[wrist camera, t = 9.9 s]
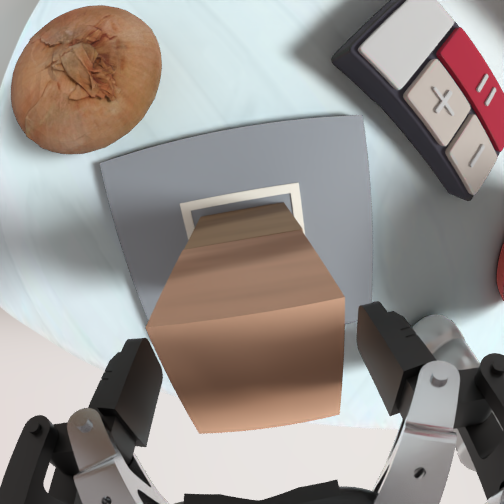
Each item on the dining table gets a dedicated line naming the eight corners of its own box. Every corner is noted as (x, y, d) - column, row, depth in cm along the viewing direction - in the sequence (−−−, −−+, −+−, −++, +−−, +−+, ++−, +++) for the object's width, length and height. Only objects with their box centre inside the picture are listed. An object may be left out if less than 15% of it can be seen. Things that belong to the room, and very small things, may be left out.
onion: (171, 82, 19) (222, 47, 11) (93, 175, 19) (85, 202, 11) (92, 17, 13) (95, -52, 5) (10, 110, 13) (-48, 97, 5)
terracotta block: (182, 249, 13) (145, 327, 7) (301, 229, 13) (344, 296, 7) (209, 342, 15) (199, 433, 9) (310, 326, 15) (339, 414, 9)
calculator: (475, 206, 17) (351, 45, 12) (443, 193, 21) (327, 61, 16) (522, 122, 14) (424, -23, 9) (491, 118, 18) (397, -6, 13)
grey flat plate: (106, 161, 18) (98, 163, 17) (355, 116, 17) (363, 114, 16) (164, 343, 24) (161, 352, 23) (365, 310, 23) (370, 318, 22)
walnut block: (200, 216, 19) (183, 249, 13) (283, 202, 18) (302, 228, 13) (218, 289, 21) (211, 342, 15) (293, 277, 20) (311, 326, 15)
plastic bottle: (447, 297, 24) (566, 434, 5) (441, 344, 26) (527, 472, 7) (396, 319, 24) (505, 493, 5) (394, 365, 26) (470, 516, 8)
